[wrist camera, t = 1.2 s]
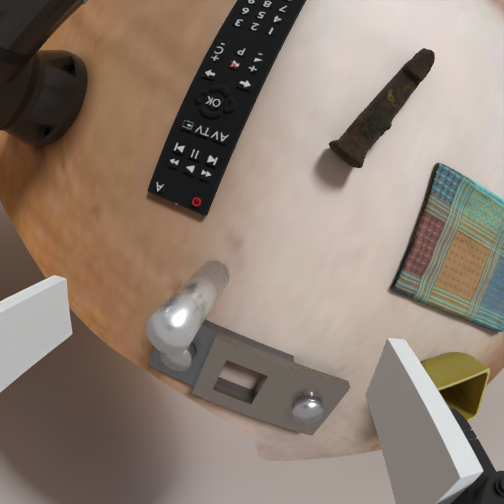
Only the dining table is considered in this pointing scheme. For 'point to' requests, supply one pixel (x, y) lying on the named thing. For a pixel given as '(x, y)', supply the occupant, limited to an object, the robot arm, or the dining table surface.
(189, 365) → the lower chain end
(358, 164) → the hand tool
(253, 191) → the dining table surface
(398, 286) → the dish towel
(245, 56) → the remote control
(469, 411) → the flower pot
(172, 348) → the steel pin
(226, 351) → the grey block with knob
